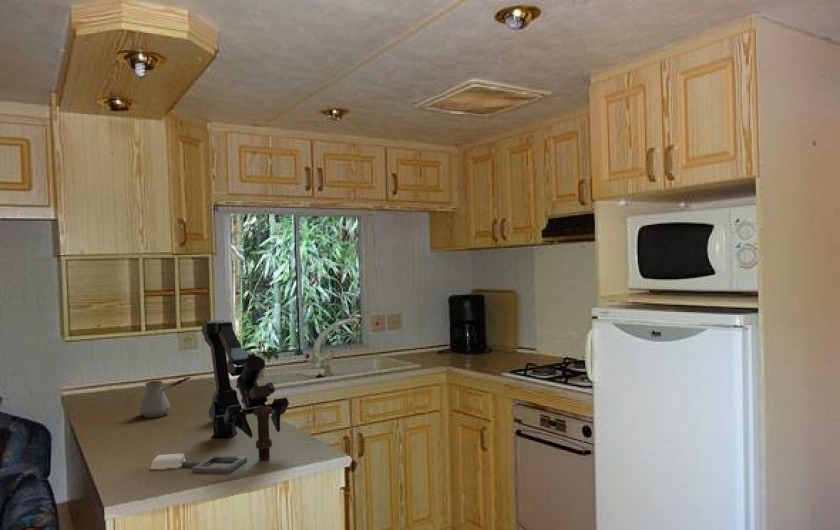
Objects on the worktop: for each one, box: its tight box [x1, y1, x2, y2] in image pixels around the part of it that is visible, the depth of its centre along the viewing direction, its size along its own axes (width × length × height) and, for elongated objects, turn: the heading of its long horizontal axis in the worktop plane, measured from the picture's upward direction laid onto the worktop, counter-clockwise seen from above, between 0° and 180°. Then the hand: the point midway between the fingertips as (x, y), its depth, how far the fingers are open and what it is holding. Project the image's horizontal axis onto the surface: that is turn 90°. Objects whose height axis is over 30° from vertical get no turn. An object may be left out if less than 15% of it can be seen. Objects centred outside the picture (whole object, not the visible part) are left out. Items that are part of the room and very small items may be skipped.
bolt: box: [253, 406, 273, 461], centre depth 179 cm, size 6×5×15 cm
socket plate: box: [181, 455, 248, 475], centre depth 174 cm, size 16×11×1 cm, turn 79°
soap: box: [150, 453, 187, 470], centre depth 176 cm, size 9×7×3 cm
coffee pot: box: [138, 376, 193, 419], centre depth 238 cm, size 21×12×15 cm, turn 84°
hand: (265, 434), depth 178 cm, fingers open, 8 cm apart
